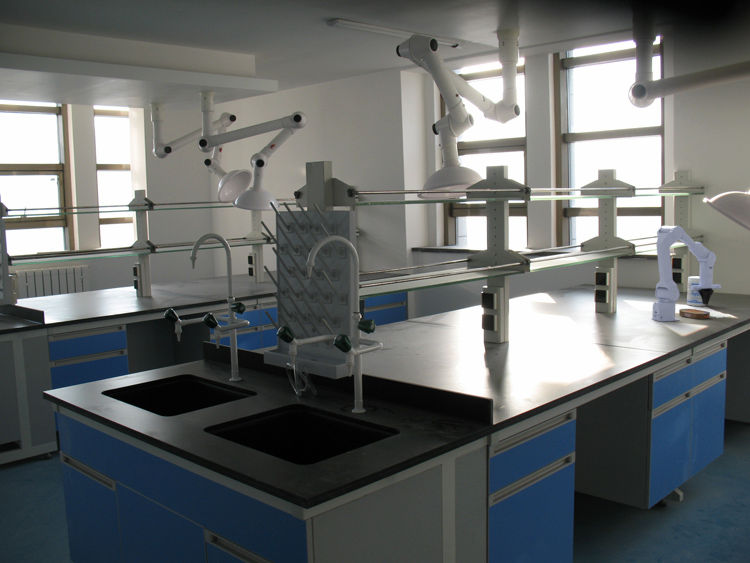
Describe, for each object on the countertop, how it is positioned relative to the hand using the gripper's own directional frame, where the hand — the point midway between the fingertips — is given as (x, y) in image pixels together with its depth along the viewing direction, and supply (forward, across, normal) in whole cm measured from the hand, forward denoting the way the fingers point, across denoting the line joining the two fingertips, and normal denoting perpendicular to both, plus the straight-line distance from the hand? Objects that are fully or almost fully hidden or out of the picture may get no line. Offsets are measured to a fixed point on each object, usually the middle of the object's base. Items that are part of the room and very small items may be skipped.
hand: (705, 304), depth 322 cm
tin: (+4, -2, 0) cm, 5 cm away
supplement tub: (+6, +14, +28) cm, 32 cm away
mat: (+5, +4, 0) cm, 7 cm away
